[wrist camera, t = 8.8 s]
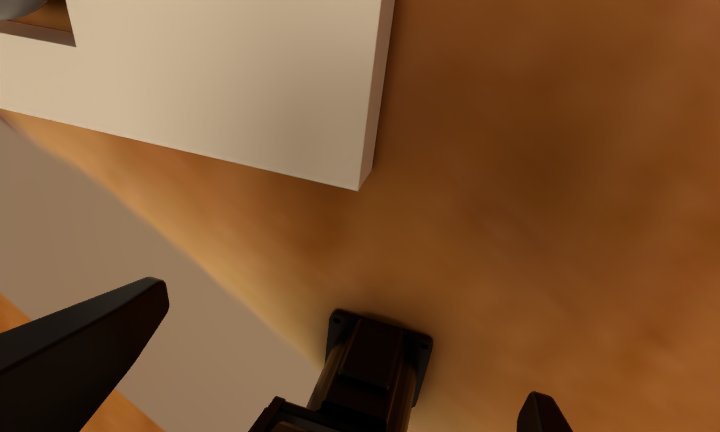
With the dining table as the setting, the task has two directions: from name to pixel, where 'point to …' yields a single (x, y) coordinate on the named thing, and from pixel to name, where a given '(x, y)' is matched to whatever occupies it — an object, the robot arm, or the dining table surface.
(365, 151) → the deck
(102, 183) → the dining table surface
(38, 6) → the ball
